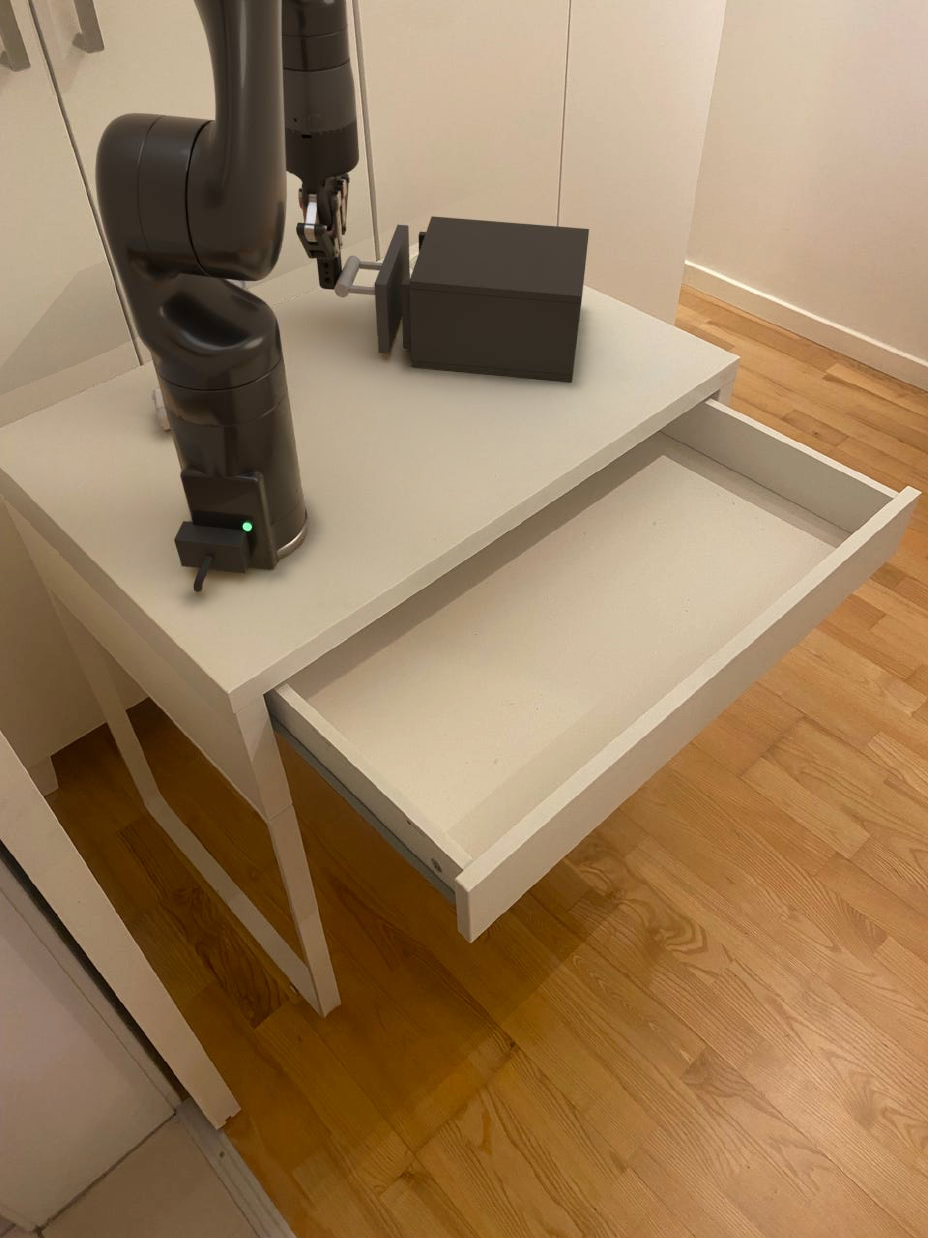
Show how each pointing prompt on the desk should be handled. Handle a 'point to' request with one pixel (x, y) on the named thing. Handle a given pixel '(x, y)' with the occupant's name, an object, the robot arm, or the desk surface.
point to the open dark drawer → (386, 288)
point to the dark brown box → (497, 298)
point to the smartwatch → (160, 408)
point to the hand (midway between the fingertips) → (331, 285)
